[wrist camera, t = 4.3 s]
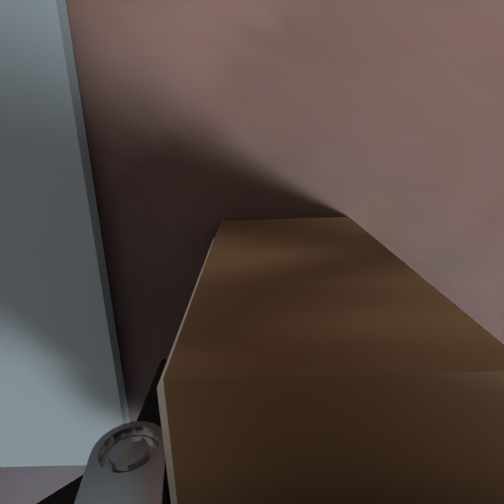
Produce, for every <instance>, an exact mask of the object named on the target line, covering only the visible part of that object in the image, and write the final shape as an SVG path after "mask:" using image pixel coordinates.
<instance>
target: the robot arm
mask: <svg viewBox="0 0 504 504" xmlns="http://www.w3.org/2000/svg"><path fill="white" fill-rule="evenodd" d="M167 360H168V359H163V360H162V361H161V363H160V365H159V368H158V370H157V373H156V375H155V377H154V380H153V382H152V385H151V387H150V390H149V392H148V395H147V397H146V400H145V402H144V405H143V407H142V410H141V412H140V414H139V417H138V419H137V421H134V422H130V423H125V424H122V425H120V426H118V427H115V428H113V429H111V430H110V431H109V432H107V433H106V434H104V435H103V436H102V437H101V438H100V439H99V440H98V441H97V443H96V444H95V445H94V447H93V449H92V451H91V453H90V456H89V459H88V462H87V465H86V468H85V471H84V474H83V475H82V476H80V477H79V478H77V479H76V480H74V481H72V482H71V483H69V484H68V485H66V486H64V487H63V488H61V489H60V490H58V491H56V492H55V493H53V494H52V495H50V496H48V497H47V498H45V499H44V500H42V501H40V502H39V503H37V504H171V501H170V493H169V485H168V477H167V468H166V460H165V452H164V444H163V436H162V427H161V419H160V411H159V403H158V394H157V386H158V383H159V381H160V378H161V375H162V373H163V370H164V367H165V365H166V362H167Z"/></svg>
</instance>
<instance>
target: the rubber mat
mask: <svg viewBox="0 0 504 504" xmlns="http://www.w3.org/2000/svg"><path fill="white" fill-rule="evenodd" d="M125 423H130V419H129V412H128V406H127V399H126V393H125V386H124V380H123V373H122V367H121V360H120V353H119V347H118V340H117V334H116V327H115V321H114V314H113V308H112V301H111V295H110V288H109V281H108V275H107V268H106V262H105V255H104V249H103V242H102V236H101V229H100V222H99V216H98V209H97V203H96V196H95V190H94V183H93V177H92V170H91V164H90V157H89V150H88V144H87V137H86V131H85V124H84V118H83V111H82V105H81V98H80V92H79V85H78V78H77V72H76V65H75V59H74V52H73V46H72V39H71V33H70V26H69V20H68V13H67V6H66V0H0V467H19V466H67V465H87V462H88V459H89V456H90V453H91V451H92V449H93V447H94V445H95V444H96V443H97V441H98V440H99V439H100V438H101V437H102V436H103V435H104V434H106V433H107V432H109V431H110V430H111V429H113V428H115V427H118V426H120V425H122V424H125Z"/></svg>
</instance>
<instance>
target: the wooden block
mask: <svg viewBox="0 0 504 504" xmlns="http://www.w3.org/2000/svg"><path fill="white" fill-rule="evenodd" d="M157 394H158V403H159V411H160V419H161V427H162V436H163V444H164V452H165V460H166V468H167V477H168V485H169V493H170V501H171V504H504V345H503V344H502V343H501V342H500V341H498V340H497V339H496V338H495V337H493V336H492V335H491V334H490V333H489V332H487V331H486V330H485V329H484V328H483V327H481V326H480V325H479V324H478V323H477V322H475V321H474V320H473V319H472V318H470V317H469V316H468V315H467V314H466V313H464V312H463V311H462V310H461V309H460V308H458V307H457V306H456V305H455V304H454V303H452V302H451V301H450V300H449V299H447V298H446V297H445V296H444V295H443V294H441V293H440V292H439V291H438V290H437V289H435V288H434V287H433V286H432V285H430V284H429V283H428V282H427V281H426V280H424V279H423V278H422V277H421V276H420V275H418V274H417V273H416V272H415V271H414V270H412V269H411V268H410V267H409V266H407V265H406V264H405V263H404V262H403V261H401V260H400V259H399V258H398V257H397V256H395V255H394V254H393V253H392V252H391V251H389V250H388V249H387V248H386V247H384V246H383V245H382V244H381V243H380V242H378V241H377V240H376V239H375V238H374V237H372V236H371V235H370V234H369V233H367V232H366V231H365V230H364V229H363V228H361V227H360V226H359V225H358V224H357V223H355V222H354V221H353V220H352V219H351V218H349V217H323V218H285V219H247V220H221V222H220V225H219V227H218V230H217V233H216V236H215V238H213V240H212V243H211V246H210V248H209V251H208V253H207V256H206V259H205V261H204V264H203V267H202V269H201V272H200V275H199V277H198V280H197V283H196V285H195V288H194V291H193V293H192V296H191V299H190V301H189V304H188V307H187V309H186V312H185V314H184V317H183V320H182V322H181V325H180V328H179V330H178V333H177V336H176V338H175V341H174V344H173V346H172V349H171V352H170V354H169V357H168V360H167V362H166V365H165V367H164V370H163V373H162V375H161V378H160V381H159V383H158V386H157Z"/></svg>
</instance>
